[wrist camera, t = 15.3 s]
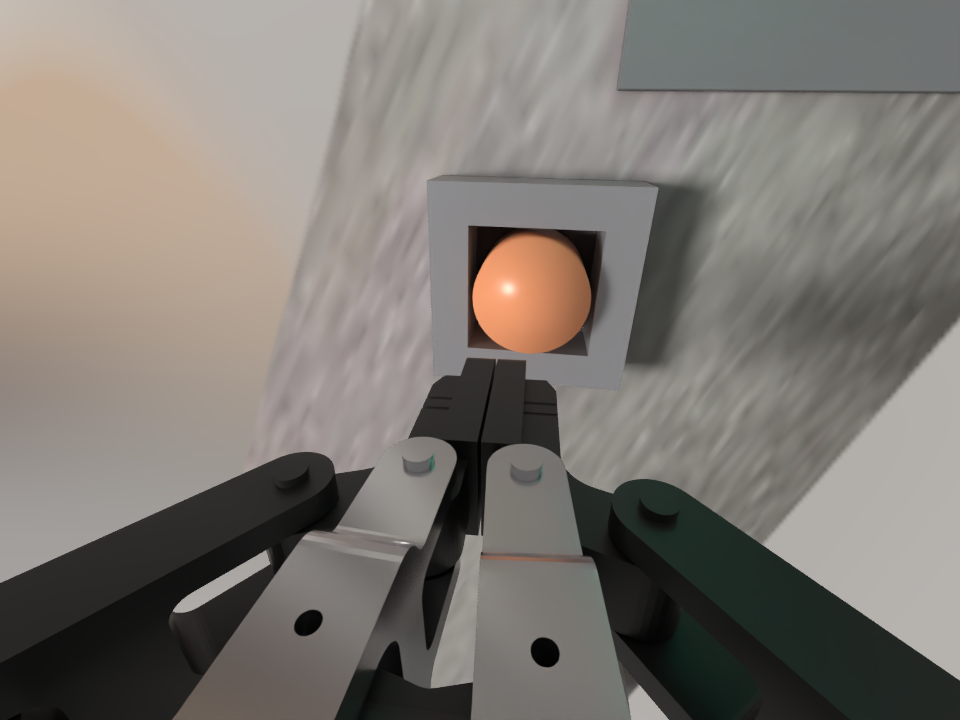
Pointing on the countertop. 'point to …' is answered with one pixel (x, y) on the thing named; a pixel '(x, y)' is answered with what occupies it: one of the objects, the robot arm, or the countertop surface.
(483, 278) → the button
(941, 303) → the countertop surface
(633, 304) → the button box
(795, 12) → the grey flat plate
